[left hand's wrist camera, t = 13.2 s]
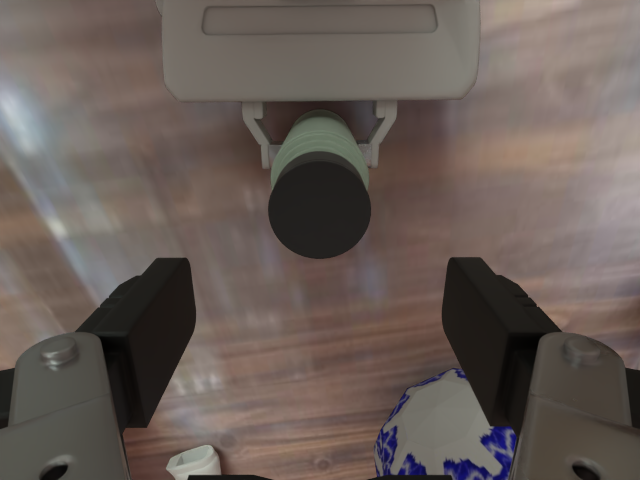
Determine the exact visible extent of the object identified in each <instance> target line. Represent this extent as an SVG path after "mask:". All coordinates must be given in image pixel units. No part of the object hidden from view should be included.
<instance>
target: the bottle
mask: <svg viewBox="0 0 640 480" xmlns="http://www.w3.org/2000/svg"><path fill="white" fill-rule="evenodd" d="M313 151H326V152H331V153H335V154H337V155H340V156H342V157H343V158H345V159H347V160H348V161H349V162H350V163H351V164H352V165H353V166H354V167H355V168H356V169H357V170H358V172H359V174H360V175H361V177H362V180H363V182H364V185H365V187H366V190H367V191H368V186H369V171H368V167H367V163H366V161H365V158H364V156H363V154H362V152H361V151H360V149H359V147H358V145H357V143H356V141H355V139H354V137H353V135H352V133H351V131H350V130H349V128H348V126H347V124H346V123H345V121H344V120H343V119H342V118H341V117H340V116H339V115H337V114H335V113H334V112H331V111H328V110H323V109H317V110H312V111H309V112H307V113H305V114H303V115H302V116H300V117H299V118H298V119H297V120H296V121H295V123H294V124H293V126H292V128H291V130H290V132H289V133H288V135H287V137H286V139H285V141H284V143H283V144H282V146H281V148H280V150H279V152H278V154H277V156H276V157H275V160H274V162H273V165H272V169H271V188H272V190H273V188H274V185H275V183H276V181H277V178H278V176H279V174H280V172H281V171H282V170H283V168H284V167H285V166H286V165H287V164H288V163H289V162H290V161H291V160H293V159H294V158H296V157H298V156H300V155H302V154H304V153H308V152H313Z"/></svg>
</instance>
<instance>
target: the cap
mask: <svg viewBox="0 0 640 480" xmlns="http://www.w3.org/2000/svg"><path fill="white" fill-rule="evenodd" d="M268 213H269V220H270V224H271V227H272V229H273V231H274V233H275V235H276V236H277V238H278V239H279V240H280V241H281V242H282V244H284V245H285V246H286V247H287V248H288V249H290V250H291V251H293V252H295V253H297V254H299V255H301V256H304V257H308V258H315V259H324V258H331V257H335V256H338V255H340V254H343V253H345V252H346V251H348V250H349V249H351V248H352V247H353V246H355V245H356V244H357V243H358V242H359V240H360V239H361V238H362V237H363V235H364V233H365V232H366V229H367V227H368V224H369V221H370V216H371V204H370V199H369V195H368V192H367V190H366V187H365V185H364V182H363V180H362V177H361V175H360V174H359V172H358V170H357V169H356V168H355V167H354V166H353V165H352V164H351V163H350V162H349V161H348V160H347V159H345V158H343V157H342V156H340V155H337V154H335V153H331V152H326V151H313V152H308V153H304V154H302V155H300V156H298V157H296V158H294V159H293V160H291V161H290V162H289V163H288V164H287V165H286V166H285V167H284V168H283V170H282V171H281V172H280V174H279V176H278V178H277V181H276V183H275V185H274V188H273V190H272V193H271V196H270V200H269V207H268Z"/></svg>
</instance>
